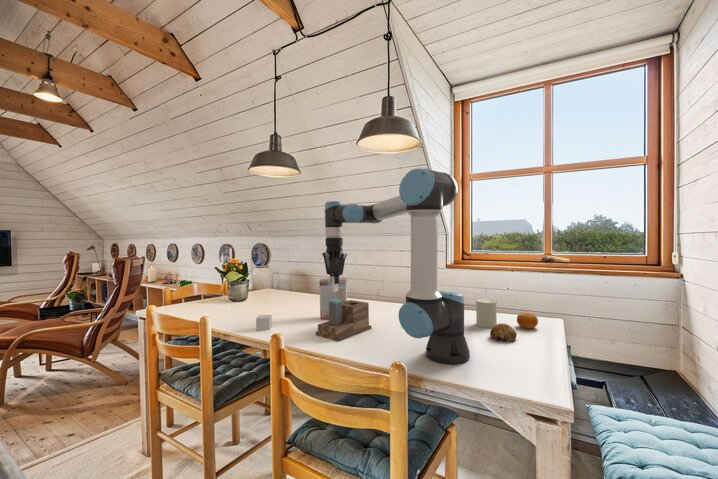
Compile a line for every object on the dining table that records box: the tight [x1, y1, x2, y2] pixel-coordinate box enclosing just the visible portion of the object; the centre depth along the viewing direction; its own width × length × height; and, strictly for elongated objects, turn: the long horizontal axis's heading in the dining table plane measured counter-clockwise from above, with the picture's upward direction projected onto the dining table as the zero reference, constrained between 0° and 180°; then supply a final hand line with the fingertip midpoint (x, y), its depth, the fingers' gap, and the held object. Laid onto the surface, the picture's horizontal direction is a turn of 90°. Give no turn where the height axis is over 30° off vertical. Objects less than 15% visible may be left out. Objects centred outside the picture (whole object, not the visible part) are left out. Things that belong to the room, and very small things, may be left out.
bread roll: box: [489, 323, 518, 343], centre depth 135 cm, size 10×10×8 cm
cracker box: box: [318, 277, 348, 320], centre depth 172 cm, size 14×6×21 cm, turn 88°
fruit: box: [516, 312, 539, 329], centre depth 150 cm, size 8×8×8 cm
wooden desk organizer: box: [315, 299, 373, 342], centre depth 148 cm, size 14×22×12 cm, turn 140°
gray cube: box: [255, 314, 273, 332], centre depth 155 cm, size 6×6×6 cm
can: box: [475, 298, 498, 329], centre depth 154 cm, size 9×9×12 cm
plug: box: [328, 299, 342, 326], centre depth 143 cm, size 4×4×14 cm
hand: (334, 291), depth 143 cm, fingers closed
